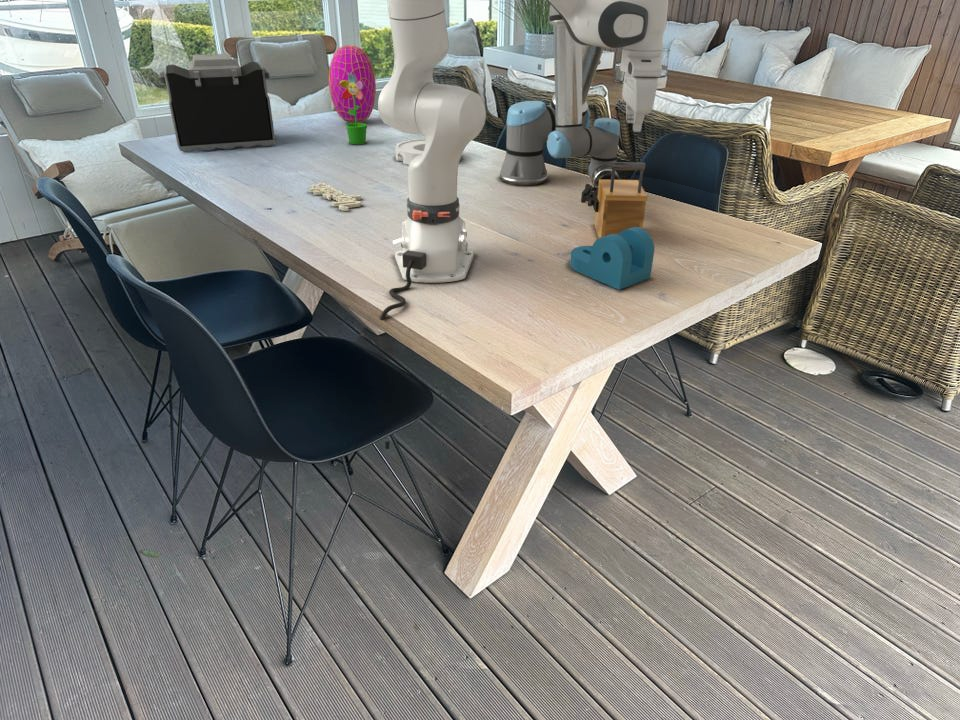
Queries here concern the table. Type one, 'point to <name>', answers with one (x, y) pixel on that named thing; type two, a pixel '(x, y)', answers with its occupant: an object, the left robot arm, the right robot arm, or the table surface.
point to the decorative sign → (336, 196)
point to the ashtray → (409, 150)
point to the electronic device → (219, 104)
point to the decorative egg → (361, 68)
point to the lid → (624, 184)
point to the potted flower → (354, 129)
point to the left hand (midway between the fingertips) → (633, 126)
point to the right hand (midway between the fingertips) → (618, 207)
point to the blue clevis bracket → (616, 258)
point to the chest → (617, 215)
